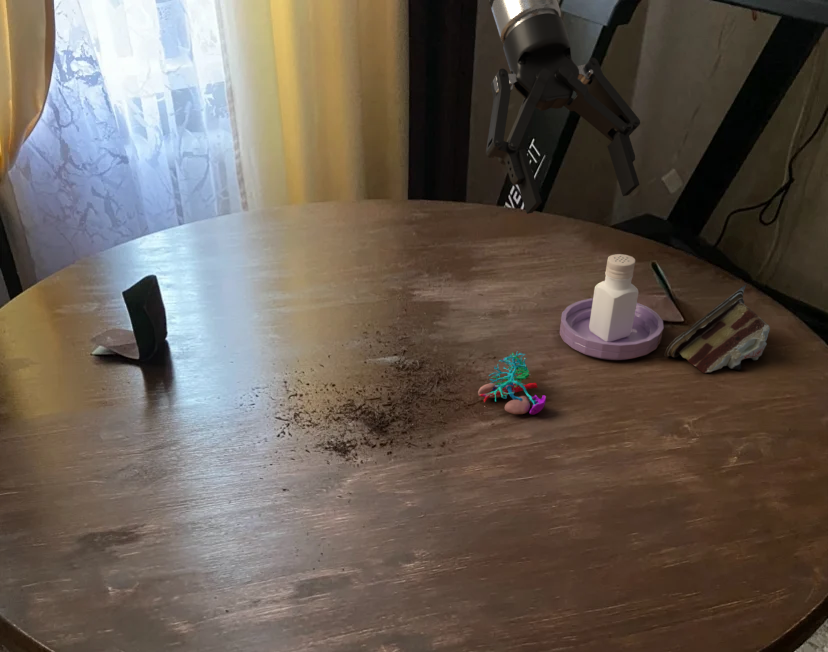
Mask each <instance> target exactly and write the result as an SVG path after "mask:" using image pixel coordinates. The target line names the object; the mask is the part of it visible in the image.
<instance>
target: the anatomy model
mask: <svg viewBox="0 0 828 652" xmlns="http://www.w3.org/2000/svg"><path fill="white" fill-rule="evenodd" d="M518 352H519V351H518V350H517V351H516V353H514V352H513V351H512V352H511V353H509V355H508V356H506V357H505V356H504V357H503V359H501V358H500V359H499V360H498V362H500V363H503V367H502V368H501V369H503V370H507V371H508V372H507V371H501V370H500V367H499V366H500V365H499V363H497V365H496V366H494V368H493V369H494V370H495V371H494V372H492V373H489V374H488V377H490V376H491V377H490V378H489V379H488V380H490V382H488V383H486V384H483V385H482V386H480V387H479V389H478V391H477V395H478V396H479V397H481V398H483V403H486V401H487V400H488V399H494V402H497V399H500V398H502V399H505V400H506V399H508V397H507V396H508V395H509V397H510V398H511V400H509V401H508V402H506V403H505V405H504V411H505V412H507V413H509V414H513V415H523V414H527V413H528V412H529V414H530V415H531V416H532V415H533V416H534V415H537V414H538V413H540V412H541V411H542V410H543V409H544V407H545V405H546V401H547V396H546V395H545V394H544V395H541V396H542V397H538V395H537V394H534V396H533V395H530V394H529V392H528V391H527V390H530V389H538V384H537V382H529V383H526V384H525V383H523V382H522V381H523V380H527V378H529V377H530V376H532V375H531V373H530V370H529V368H528V366H527V364H526V360H528V358H527V357H524V356H526V353H523V352H519V353H518ZM519 356H520V358H519ZM505 365H507V366H508V368H506V366H505ZM502 374H503V375H504V374H505V375H504V376H502V377H501V375H502ZM519 392H524V394H525V395H520V396H517V395H514V394H515V393H519ZM530 402H531V403H532V405H531V404H530ZM530 407H531V408H530Z"/></svg>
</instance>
